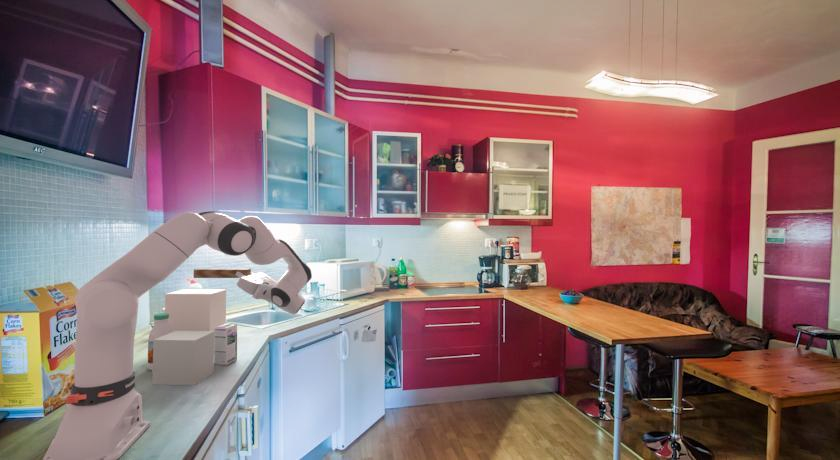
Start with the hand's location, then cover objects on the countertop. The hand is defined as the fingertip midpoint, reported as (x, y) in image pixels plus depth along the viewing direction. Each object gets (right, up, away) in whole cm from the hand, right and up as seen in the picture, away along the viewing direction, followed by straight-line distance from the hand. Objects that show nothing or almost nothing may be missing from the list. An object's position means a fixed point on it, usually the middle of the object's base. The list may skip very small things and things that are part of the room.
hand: (239, 272), depth 147 cm
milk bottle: (-22, -34, -16) cm, 44 cm away
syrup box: (-1, -35, -10) cm, 36 cm away
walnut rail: (-7, -2, 0) cm, 8 cm away
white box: (-18, -34, -1) cm, 39 cm away
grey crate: (-6, -34, -25) cm, 43 cm away
